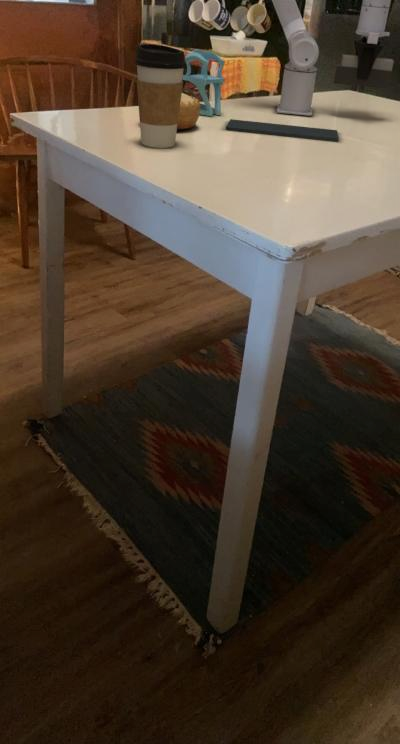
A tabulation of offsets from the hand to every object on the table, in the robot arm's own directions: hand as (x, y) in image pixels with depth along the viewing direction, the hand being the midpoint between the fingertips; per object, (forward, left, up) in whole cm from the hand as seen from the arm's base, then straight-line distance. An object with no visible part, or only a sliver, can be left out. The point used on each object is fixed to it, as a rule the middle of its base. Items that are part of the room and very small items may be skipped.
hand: (361, 77), depth 135 cm
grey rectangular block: (0, 0, -1) cm, 1 cm away
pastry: (+29, -38, -9) cm, 49 cm away
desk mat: (+23, -16, -8) cm, 29 cm away
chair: (+12, -34, -9) cm, 37 cm away
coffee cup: (+44, -37, -8) cm, 58 cm away
